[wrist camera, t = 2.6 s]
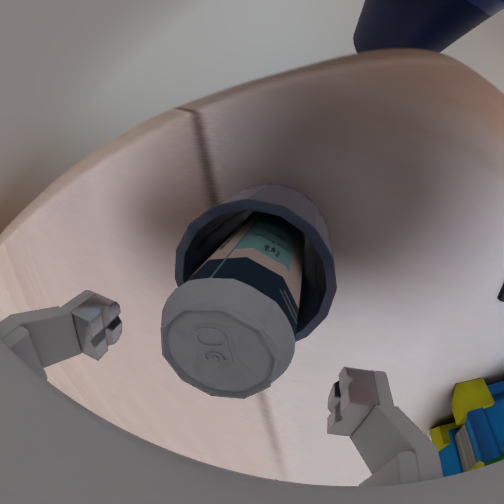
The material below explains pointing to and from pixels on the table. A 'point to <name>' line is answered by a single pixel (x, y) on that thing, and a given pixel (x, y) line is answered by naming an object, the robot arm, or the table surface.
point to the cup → (292, 210)
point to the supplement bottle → (238, 311)
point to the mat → (501, 294)
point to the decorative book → (472, 428)
